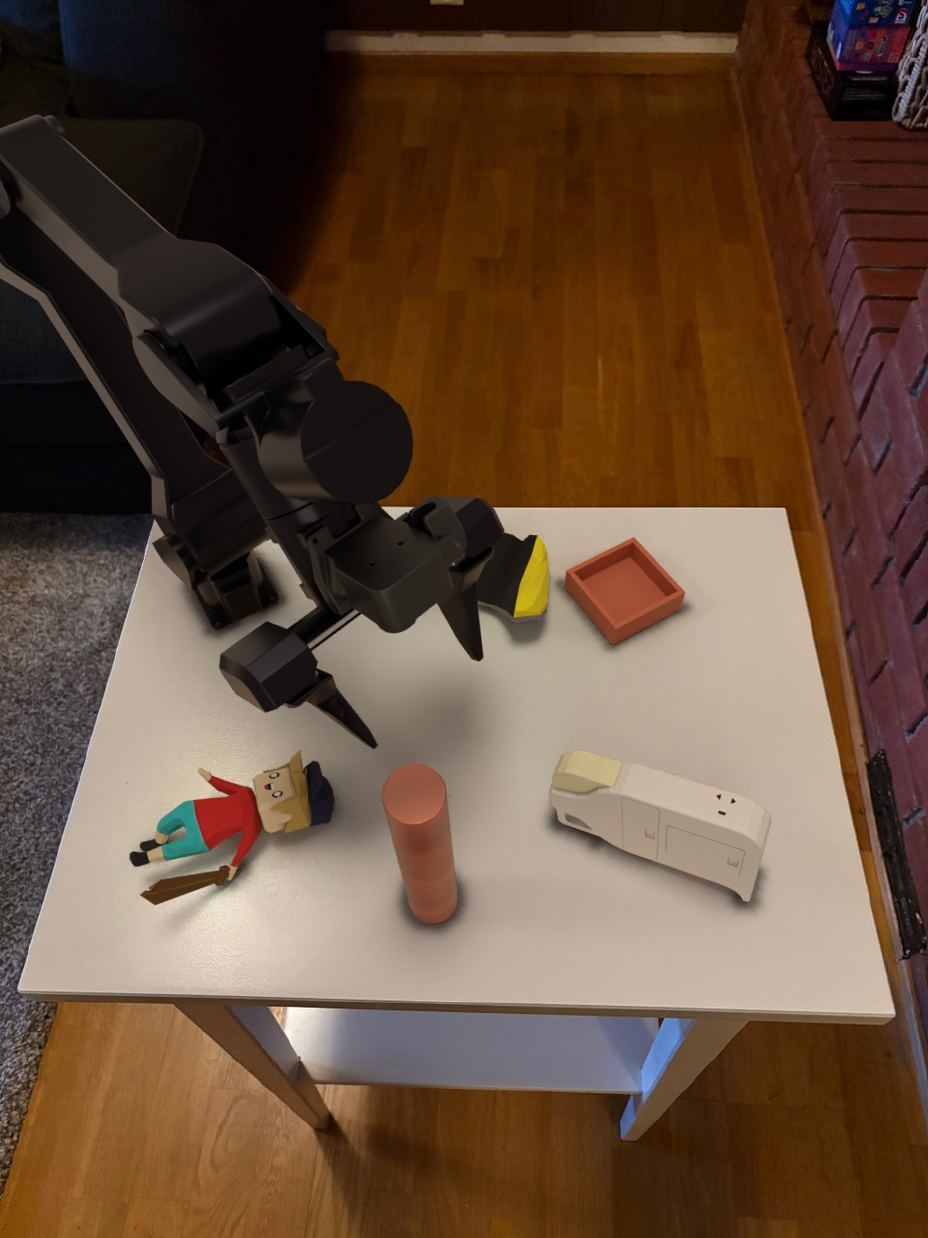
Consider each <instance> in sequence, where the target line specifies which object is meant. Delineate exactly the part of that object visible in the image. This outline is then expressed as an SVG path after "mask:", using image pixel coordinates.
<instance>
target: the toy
mask: <svg viewBox="0 0 928 1238" xmlns="http://www.w3.org/2000/svg"><path fill="white" fill-rule="evenodd" d="M197 773H198V774H199V776H201V777H202V778H203V779H204V781H205V782H207V783H208V784H209V785H211V786H212V788H214V789H215V790H216V791H218V793H219V792H220V793H223V794H225V795H226V796H217V797H207V798H196V799H189V800H185V801H182V802H181V803H180V804H179V805H177V806H176V807H175V808H173V809H171V810H170V811H169V812H168V813H166V815H164V816H163V817H162V818H161V819H160V820H159V821H158V823H157V826H156V829H155V835H154V838H153V839H149V840H144V841H141V842H140V843H139V844H138V846H139V849H140V850H141V851H137V850H136V851H134V850H132V851H131V852H129V853H128V854H129V855H128V856H129V857H128V858H129V859H128V860H129V861H130V863H131V865H132V866H133V867H134V868H140V867H142V866H146V865H149V864H150V863H159V862H167V861H168V862H169V861H173V860H174V861H175V860H178V859H184V858H188V857H193V856H197V855H201V854H206V853H209V852H211V851H213V850H214V849H215V848H216V847H217V846H219V845H220V844H222V843H223V842H225V841H226V840H228V839H230V838H231V837H233V836H235V835H238V834H240V833H242V836H241V838H240V840H239V843H238V847H237V848H236V851H235V854H234V857H233V859H232V861H231V863H230V864H229V865H227V864H223V865H220V866H219V868H218V869H216V870H212V871H204V872H199V873H198V872H197V873H192V874H186V875H180V876H173V877H167V878H161V879H159V880H157V881H156V882H155V883H153V884H151V885H150V886H149V887H148V889H145V890H144V891H142V892H141V893H140V894H139V896H140V897H142V898H143V899H145V900H146V901H148V902H149V903H151V904H152V905H154V906H157V905H160V904H164V903H166V902H169V901H171V900H174V899H176V898H180V897H182V896H185V895H187V894H190V893H193V892H195V891H199V890H201V889H204V888H206V887H209V886H212V885H215V886H216V887H221V886H222V887H223V886H225V884H226V881H232V879H233V877H239V876H240V873H241V870H240V869H239V865H240V863H241V862H242V861H244V859H245V857H246V856H247V855H248V854H249V853H250V851H251V850H252V847H253V846H254V845H255V842H256V841H257V839H258V837H259V836H260V834H261V833H262V831H263V828H264V831H265V832H268V833H270V834H273V833H276V832H279V831H282V832H283V833H284V834H289V833H292V832H295V831H299V830H302V829H305V828H312V827H314V826H320V825H326V824H329V823H330V822H331V821H332V817H333V814H334V809H335V794H334V788H333V786H332V785H331V783H330V780H329V779H328V778H327V777H326V776H325V775H324V774H323V772H322V768H321V765H320V762H319V761H317V760H312V761H310V762H309V763H307V764H306V765H305V766H304V768H303V759H302V751H301V749H299V750H298V751H297V752H296V753H294V755H292V756H291V758H290V760H289V762H287V763H285V764H283V765H280V766H279V767H276V768H271V769H266V770H262V773H259V774H256V775H255V776H254V777H253V778H252V784H253V788H252V787H250V786H247V785H241V784H239V783H236V782H232V781H229V780H226V779H223V778H220V777H218V776H216V775H215V776H214V775H213V774H212V773H211V771H209V770H206V769H204V768H203V767H198V768H197ZM182 828H184V829H185V831H186V834H185V836H184V837H181V838H179V839H176V840H174V841H172V842H169V843H168V839H169V838H170V837H171V835H172V834H174V833H176V832H177V831H179V830H180V829H182Z"/></svg>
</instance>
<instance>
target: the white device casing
mask: <svg viewBox="0 0 928 1238" xmlns="http://www.w3.org/2000/svg"><path fill="white" fill-rule="evenodd" d="M548 798H549V803H550V806H551V807H553V808H554V809H555V810H556V816H557V820H558V821H559V823H561V824H563V825H565V826H568V827H571V828H574V829H576V830H580V831H583V832H586V833H588V834H592V835H594V836H597V837H600V838H601V839H603V840H604V841H606V842H608V843H609V844H611V845H612V846H614V847H616V848H617V849H620V850H622V851H624V852H627V853H630V854H632V855H634V856H635V855H636V856H638V857H642V858H645V859H647V860H650V861H654V862H655V863H659V864H662V865H664V866H668V867H670V868H673V869H675V870H679V871H682V872H685V873H687V874H690V875H693V876H696V877H699V878H702V879H705V880H708V881H710V882H713V883H715V884H718V885H722V886H724V887H726V888H728V889H731V890H733V891H734V892H736V893H737V894H738V895H739V897H740V898H741V900H742V901H743V902H746V903H749V902H750V900H751V898H752V894H753V891H754V888H755V884H756V880H757V877H758V874H759V870H760V866H761V862H762V859H763V857H764V852H765V848H766V845H767V841H768V836H769V833H770V830H771V825H772V816H771V813H770V812H769V810H767V809H766V807H765V806H763V805H762V804H760V803H759V802H758V801H756V800H754V799H751V798H749V797H746V796H745V795H741V794H738V793H734V792H731V791H729V790H725V789H722V788H718V787H715V786H712V785H708V784H705V783H702V782H699V781H696V780H692V779H689V778H685V777H683V776H679V775H675V774H673V773H669V772H666V771H663V770H660V769H656V768H654V767H650V766H647V765H643V764H639V763H635V762H630V761H620V760H615V759H612V758H609V757H606V756H603V755H599V754H596V753H593V752H590V751H586V750H570V751H566V752H565V751H564V753H562V754H560V757H559V758H558V761H557V763H556V766H555V768H554V771H553V773H552V775H551V784H550V787H549V789H548Z"/></svg>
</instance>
